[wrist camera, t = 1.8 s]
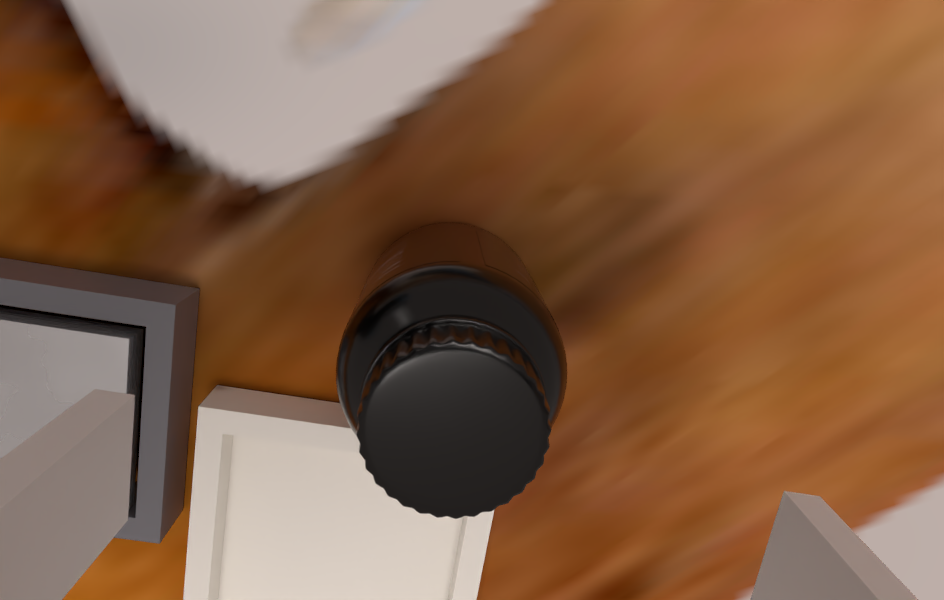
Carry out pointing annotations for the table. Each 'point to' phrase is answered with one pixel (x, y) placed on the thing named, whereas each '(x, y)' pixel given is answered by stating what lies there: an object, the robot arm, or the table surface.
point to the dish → (310, 513)
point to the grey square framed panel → (165, 369)
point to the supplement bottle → (451, 372)
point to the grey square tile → (61, 371)
